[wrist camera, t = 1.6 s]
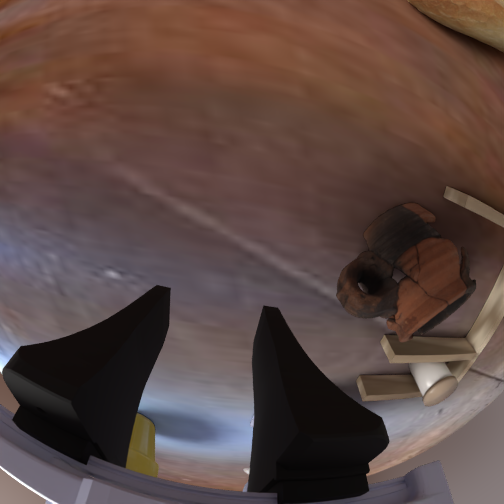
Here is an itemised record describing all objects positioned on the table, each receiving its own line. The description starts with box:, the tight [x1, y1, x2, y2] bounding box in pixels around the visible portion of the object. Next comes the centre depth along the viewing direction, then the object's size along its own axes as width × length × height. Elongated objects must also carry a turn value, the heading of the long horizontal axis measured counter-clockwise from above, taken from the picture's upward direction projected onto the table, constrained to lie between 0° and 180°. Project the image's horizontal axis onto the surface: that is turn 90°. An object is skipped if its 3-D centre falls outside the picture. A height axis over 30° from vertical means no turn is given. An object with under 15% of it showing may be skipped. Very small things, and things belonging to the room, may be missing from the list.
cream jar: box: [409, 362, 458, 406], centre depth 23 cm, size 4×4×6 cm
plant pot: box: [126, 413, 159, 478], centre depth 27 cm, size 10×10×10 cm
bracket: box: [356, 186, 504, 401], centre depth 21 cm, size 22×14×3 cm, turn 169°
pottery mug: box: [336, 203, 476, 342], centre depth 18 cm, size 12×10×8 cm
